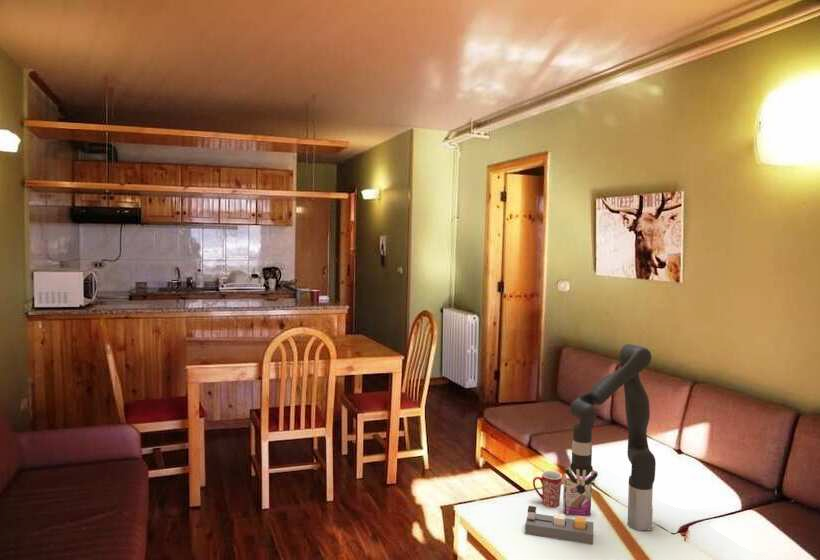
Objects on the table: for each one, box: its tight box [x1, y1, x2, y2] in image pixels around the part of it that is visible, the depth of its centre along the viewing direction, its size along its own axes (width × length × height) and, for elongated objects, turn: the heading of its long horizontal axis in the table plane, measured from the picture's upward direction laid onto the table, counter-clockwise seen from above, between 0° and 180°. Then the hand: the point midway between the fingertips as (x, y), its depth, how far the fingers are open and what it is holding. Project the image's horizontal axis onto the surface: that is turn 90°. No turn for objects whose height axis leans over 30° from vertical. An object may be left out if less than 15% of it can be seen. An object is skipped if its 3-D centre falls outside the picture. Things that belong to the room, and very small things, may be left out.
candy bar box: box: [562, 473, 593, 517], centre depth 247 cm, size 11×5×16 cm, turn 84°
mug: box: [532, 470, 563, 508], centre depth 256 cm, size 13×9×14 cm
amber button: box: [574, 515, 587, 530], centre depth 229 cm, size 4×4×3 cm
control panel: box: [524, 513, 594, 545], centre depth 232 cm, size 26×10×4 cm, turn 71°
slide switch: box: [527, 505, 537, 520], centre depth 235 cm, size 3×4×6 cm
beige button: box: [553, 512, 566, 527], centre depth 231 cm, size 4×4×3 cm
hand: (580, 493), depth 228 cm, fingers closed
